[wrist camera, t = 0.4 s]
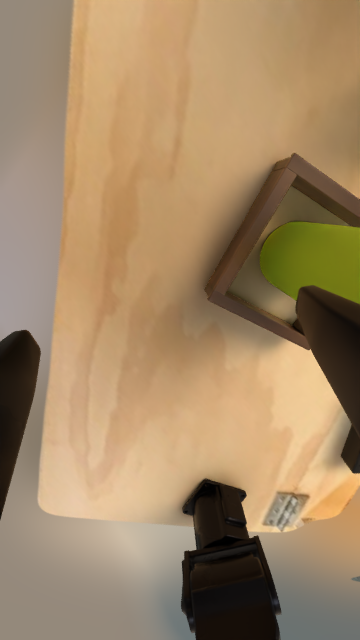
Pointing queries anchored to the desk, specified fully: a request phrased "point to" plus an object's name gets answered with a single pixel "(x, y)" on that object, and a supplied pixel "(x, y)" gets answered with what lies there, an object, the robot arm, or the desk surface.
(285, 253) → the soap dispenser
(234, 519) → the robot arm
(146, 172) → the desk surface
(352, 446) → the multiport hub
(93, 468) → the desk surface
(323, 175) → the brown wooden tray
